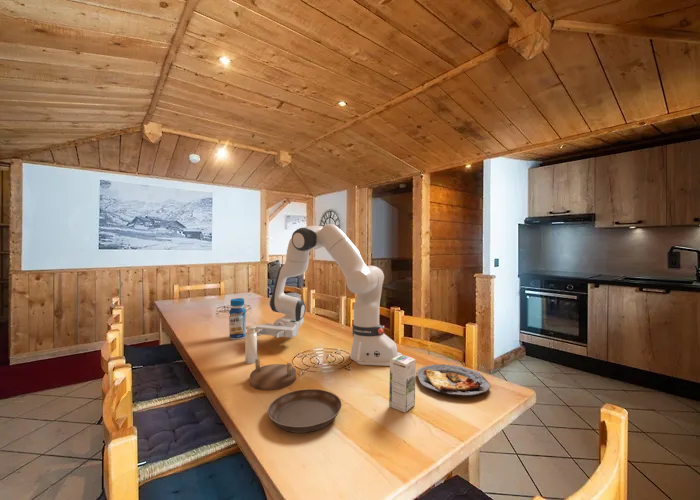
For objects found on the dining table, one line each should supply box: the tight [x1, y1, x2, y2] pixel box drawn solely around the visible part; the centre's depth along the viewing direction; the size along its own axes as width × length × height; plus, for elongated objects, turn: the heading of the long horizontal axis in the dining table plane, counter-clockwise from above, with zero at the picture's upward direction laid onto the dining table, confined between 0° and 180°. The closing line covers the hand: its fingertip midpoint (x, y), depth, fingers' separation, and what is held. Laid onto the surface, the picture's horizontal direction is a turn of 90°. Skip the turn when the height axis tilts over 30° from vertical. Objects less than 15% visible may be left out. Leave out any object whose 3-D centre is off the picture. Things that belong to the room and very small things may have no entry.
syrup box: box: [388, 354, 417, 414], centre depth 94 cm, size 6×6×14 cm
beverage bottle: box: [228, 297, 247, 341], centre depth 162 cm, size 8×8×20 cm
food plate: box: [415, 363, 491, 397], centre depth 109 cm, size 25×23×4 cm
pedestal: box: [249, 358, 297, 391], centre depth 112 cm, size 16×16×6 cm
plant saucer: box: [267, 388, 343, 434], centre depth 89 cm, size 21×21×3 cm
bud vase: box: [244, 324, 258, 365], centre depth 129 cm, size 5×5×15 cm
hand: (266, 334), depth 140 cm, fingers open, 8 cm apart
